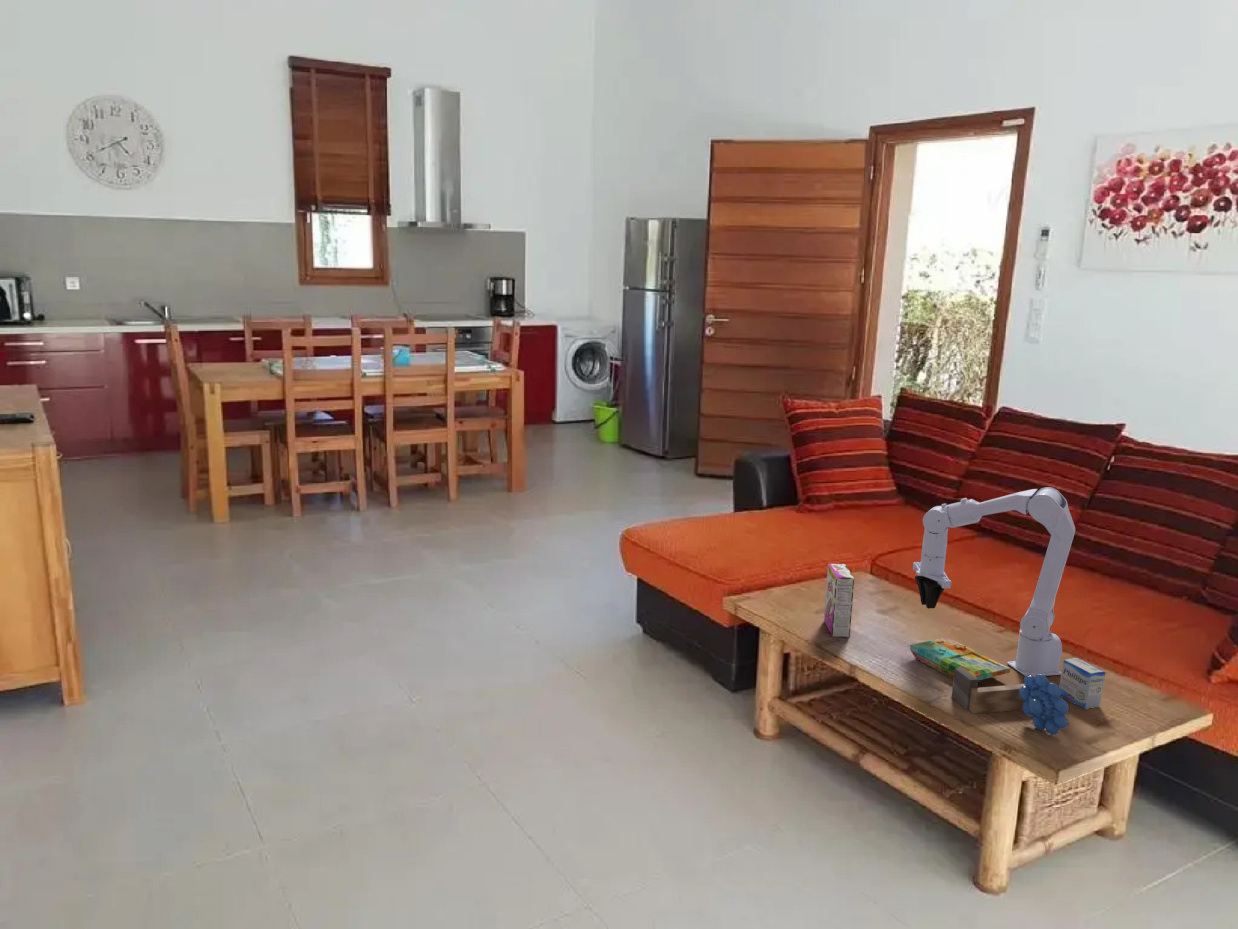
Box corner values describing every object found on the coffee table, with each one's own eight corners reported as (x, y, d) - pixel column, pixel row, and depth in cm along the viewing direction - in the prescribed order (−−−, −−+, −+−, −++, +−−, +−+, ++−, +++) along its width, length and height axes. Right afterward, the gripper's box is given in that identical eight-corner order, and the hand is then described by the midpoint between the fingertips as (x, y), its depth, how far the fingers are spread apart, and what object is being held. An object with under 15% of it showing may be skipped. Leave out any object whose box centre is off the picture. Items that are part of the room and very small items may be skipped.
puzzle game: (946, 633, 240) (1010, 664, 223) (944, 651, 241) (1008, 683, 224) (910, 641, 235) (974, 673, 218) (909, 659, 236) (972, 692, 219)
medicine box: (1057, 694, 219) (1062, 659, 217) (1072, 692, 220) (1077, 656, 218) (1085, 710, 211) (1091, 673, 209) (1100, 707, 213) (1106, 671, 211)
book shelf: (1031, 690, 220) (1035, 662, 219) (1054, 706, 213) (1058, 677, 211) (951, 697, 216) (954, 668, 214) (971, 714, 208) (975, 684, 206)
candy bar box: (822, 621, 258) (827, 562, 254) (841, 621, 258) (846, 563, 254) (830, 637, 247) (835, 577, 244) (850, 638, 247) (855, 577, 244)
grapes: (1002, 722, 205) (1009, 669, 202) (1023, 715, 208) (1030, 663, 206) (1050, 746, 195) (1058, 692, 192) (1072, 739, 198) (1079, 685, 196)
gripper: (904, 546, 245) (899, 596, 248) (934, 564, 231) (929, 617, 234) (929, 545, 247) (924, 595, 250) (961, 563, 233) (955, 616, 236)
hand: (928, 606), depth 242 cm, fingers closed
